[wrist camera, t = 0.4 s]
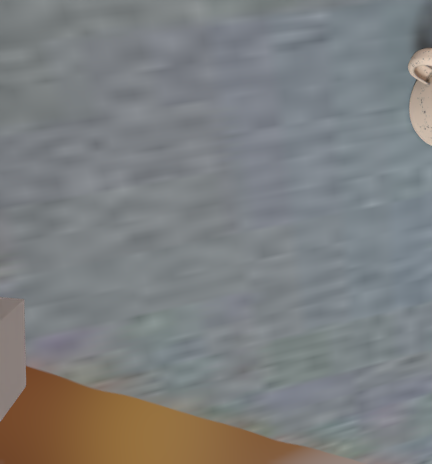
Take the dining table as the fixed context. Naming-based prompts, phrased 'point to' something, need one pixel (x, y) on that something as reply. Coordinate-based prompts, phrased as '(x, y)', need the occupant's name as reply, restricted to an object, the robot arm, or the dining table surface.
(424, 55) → the teacup with lid
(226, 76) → the dining table surface
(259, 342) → the dining table surface
